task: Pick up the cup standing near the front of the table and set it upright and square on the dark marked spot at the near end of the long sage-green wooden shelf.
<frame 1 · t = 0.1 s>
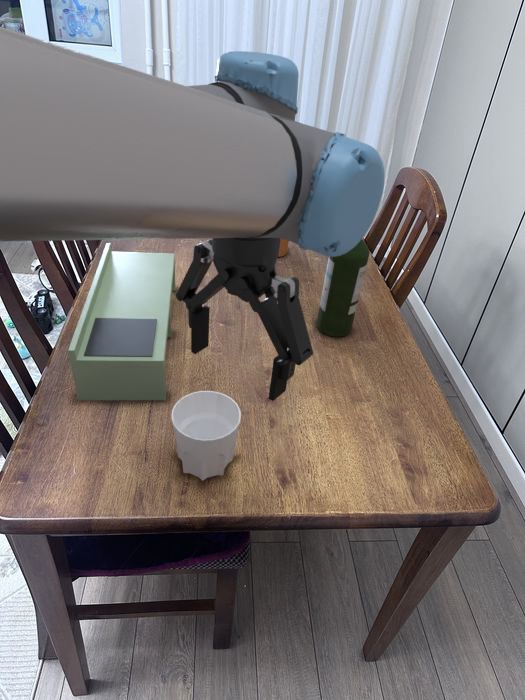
hand: (236, 371, 65), 19 cm above the table, tool pointing down, fingers open, 13 cm apart
wine bottle: (333, 327, 109), on the table
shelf: (137, 321, 104), on the table
bread: (248, 239, 142), on the table
cup: (205, 459, 77), on the table
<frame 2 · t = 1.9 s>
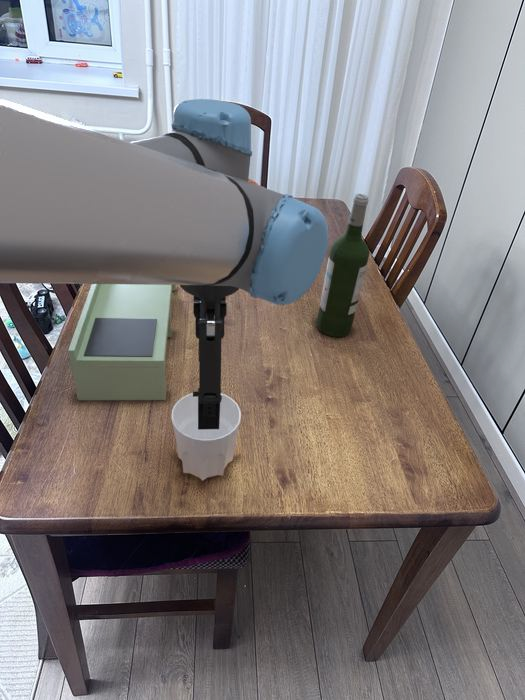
hand: (208, 391, 68), 14 cm above the table, tool pointing down, fingers open, 13 cm apart
nothing on the table moved.
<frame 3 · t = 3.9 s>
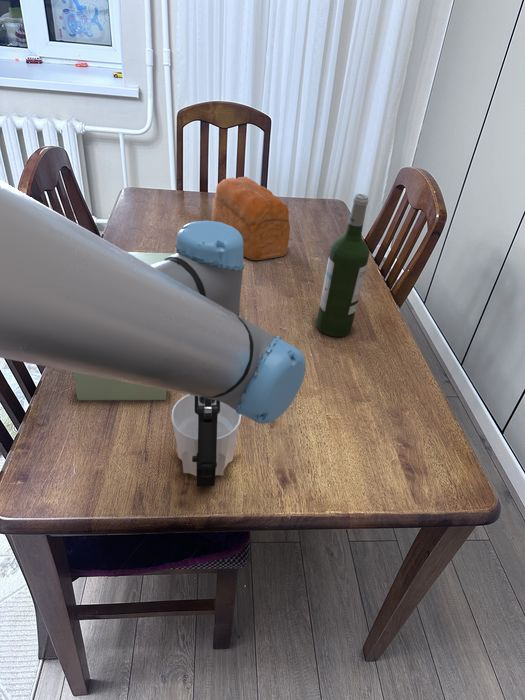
hand: (205, 455, 76), 1 cm above the table, tool pointing down, fingers closed on cup, 10 cm apart
cup: (205, 459, 77), on the table, touching gripper
everything else where it was.
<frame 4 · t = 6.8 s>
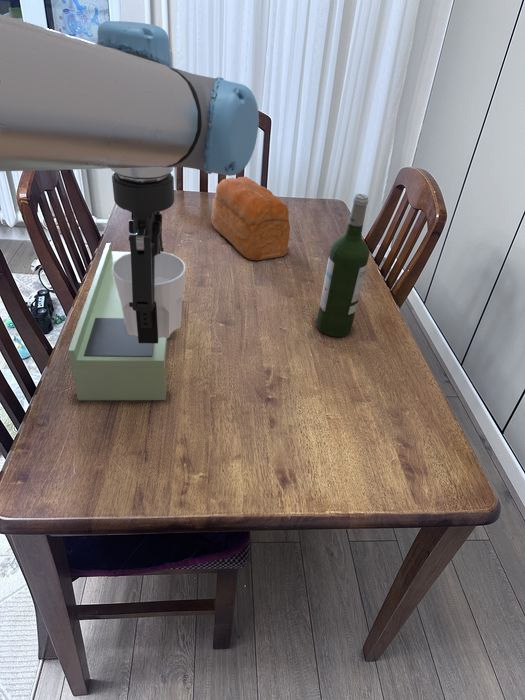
hand: (152, 320, 74), 18 cm above the table, tool pointing down, fingers closed on cup, 10 cm apart
cup: (152, 325, 74), point 17 cm above the table, touching gripper
everything else where it was.
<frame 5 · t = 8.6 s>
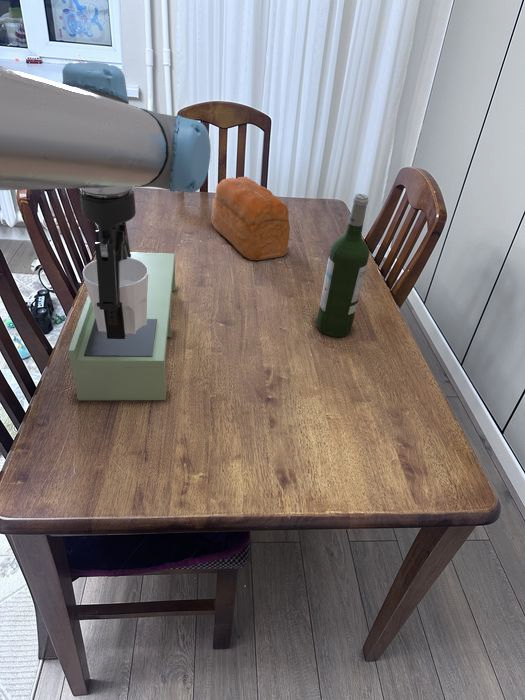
hand: (120, 318, 82), 13 cm above the table, tool pointing down, fingers closed on cup, 10 cm apart
cup: (121, 323, 83), point 12 cm above the table, touching gripper
everything else where it was.
when the fingers open (10 cm above the table, at t = 10.0 s): cup stays where it is, resting on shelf.
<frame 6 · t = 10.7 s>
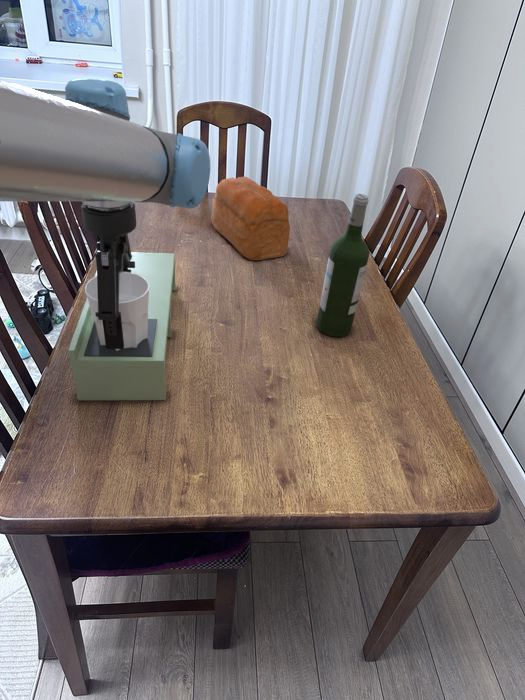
hand: (120, 323, 83), 12 cm above the table, tool pointing down, fingers open, 13 cm apart
cup: (122, 336, 85), point 9 cm above the table, touching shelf
everything else where it was.
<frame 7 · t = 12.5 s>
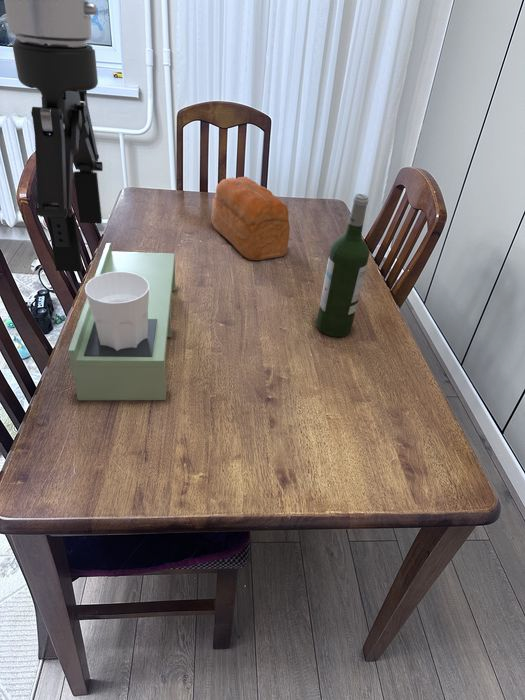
hand: (81, 244, 60), 33 cm above the table, tool pointing down, fingers open, 13 cm apart
nothing on the table moved.
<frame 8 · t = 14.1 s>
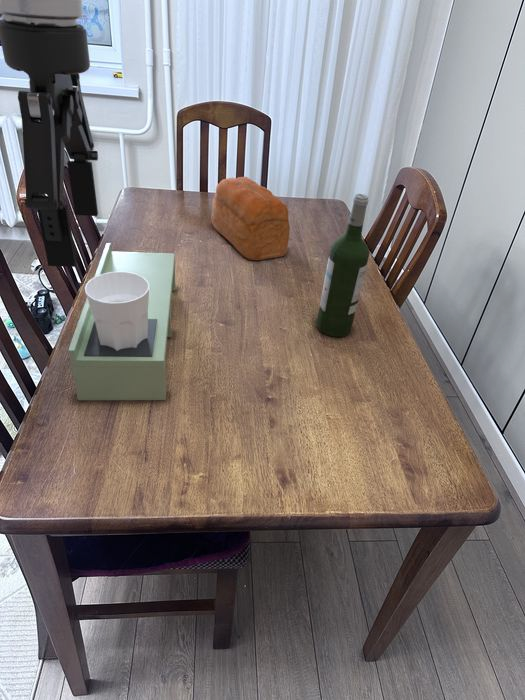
hand: (75, 237, 57), 35 cm above the table, tool pointing down, fingers open, 13 cm apart
nothing on the table moved.
at the end: cup 0.1 cm from the target spot on the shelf, point 9.0 cm above the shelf's base; cup tilted 0°; the gripper is holding nothing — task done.
